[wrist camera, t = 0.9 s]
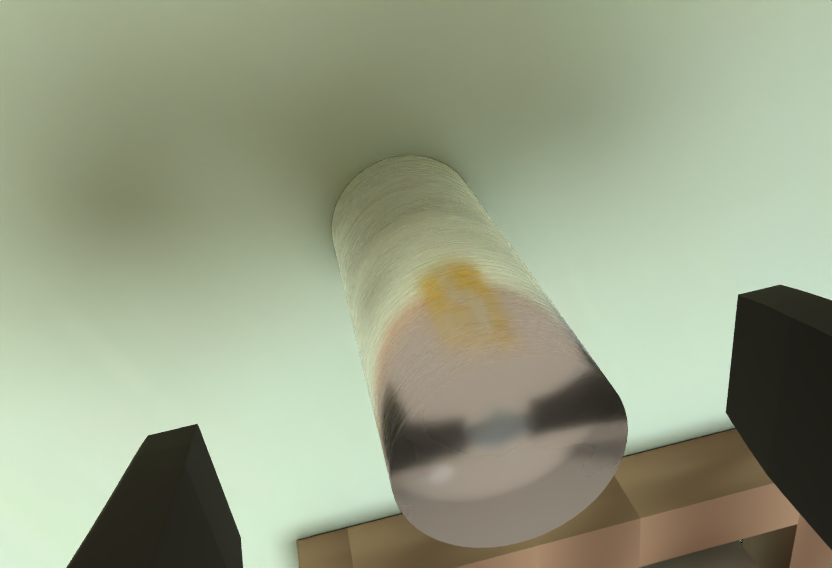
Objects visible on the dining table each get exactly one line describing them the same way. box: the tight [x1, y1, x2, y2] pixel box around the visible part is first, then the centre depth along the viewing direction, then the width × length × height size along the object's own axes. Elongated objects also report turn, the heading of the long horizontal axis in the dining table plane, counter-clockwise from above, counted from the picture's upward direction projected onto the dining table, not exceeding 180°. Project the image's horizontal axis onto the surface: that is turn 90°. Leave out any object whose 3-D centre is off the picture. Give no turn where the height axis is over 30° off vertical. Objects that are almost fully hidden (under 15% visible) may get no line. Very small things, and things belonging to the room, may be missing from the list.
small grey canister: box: [332, 155, 628, 548], centre depth 12 cm, size 3×3×7 cm
